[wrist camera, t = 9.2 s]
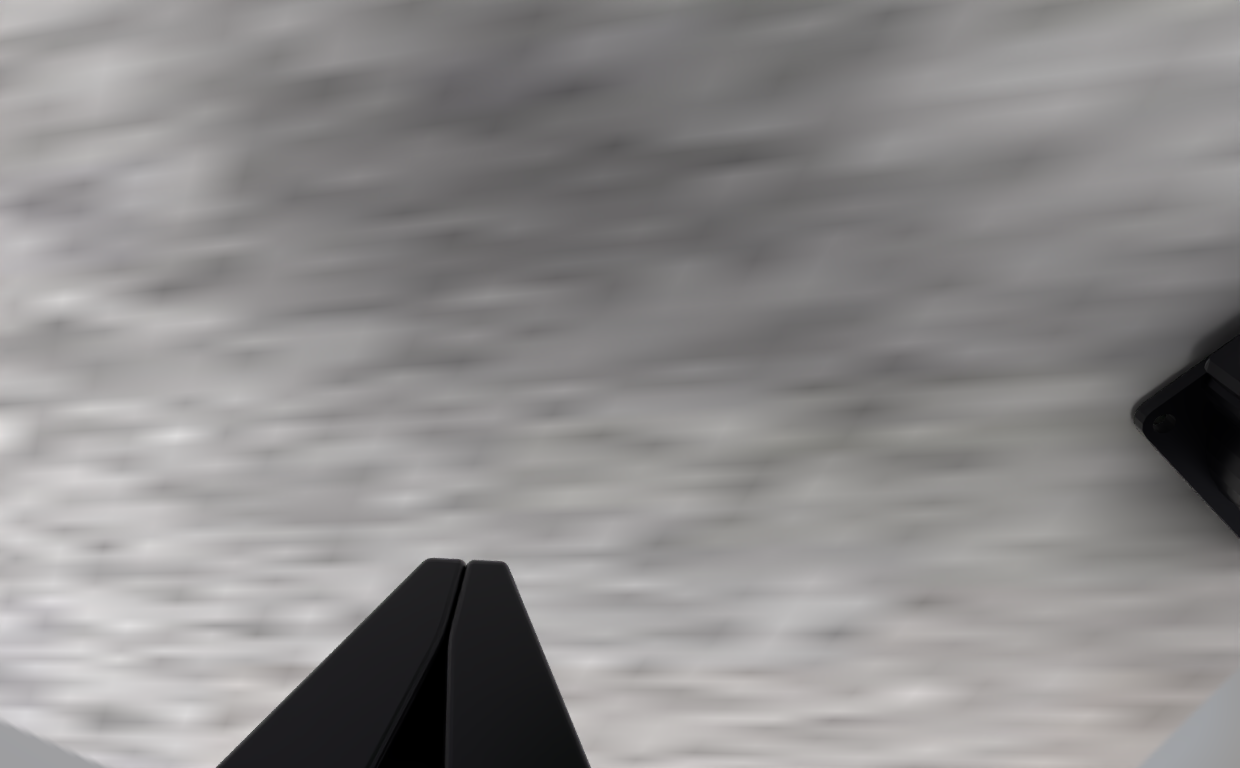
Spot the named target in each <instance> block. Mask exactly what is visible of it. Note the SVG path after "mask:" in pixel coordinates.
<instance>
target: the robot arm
mask: <svg viewBox="0 0 1240 768" xmlns="http://www.w3.org/2000/svg"><path fill="white" fill-rule="evenodd" d="M1164 414H1167V415H1166V418H1165V419H1164V420H1163V421H1162V422H1161V423H1159V424H1156V425H1153V424H1154V421H1155V420H1156V419H1157V418H1158V417H1159V416H1162V415H1164ZM1134 424H1135V426H1136V428H1137V429H1138V430H1139V431H1140V432H1141V433H1142V434H1143V436H1144V437H1145V438H1146V439H1147V440H1148V441H1149V442H1150V443H1151V444H1152V445H1153V446H1154V447H1155V448H1156V450H1157V451H1158V452H1159V453H1160V454H1161V455H1162V456H1163V457H1164V458H1165V459H1166V460H1167V461H1168V462H1169V463H1170V465H1171V466H1172V467H1173V468H1174V469H1175V470H1176V471H1177V472H1178V473H1179V474H1180V475H1181V476H1182V477H1183V478H1184V480H1185V481H1186V482H1187V483H1188V484H1189V485H1190V486H1191V487H1192V488H1193V489H1194V490H1195V491H1196V492H1197V493H1198V495H1199V496H1200V497H1201V498H1202V499H1203V500H1204V501H1205V502H1206V503H1207V504H1208V505H1209V506H1210V507H1211V509H1212V510H1213V511H1214V512H1215V513H1216V514H1217V515H1218V516H1219V517H1220V518H1221V519H1222V520H1223V521H1224V522H1225V524H1226V525H1227V526H1228V527H1229V528H1230V529H1231V530H1232V531H1233V532H1234V533H1235V534H1236V535H1237V536H1238V537H1239V539H1240V334H1239V335H1238V336H1237V337H1235V338H1234V339H1232V340H1231V341H1230V342H1228V343H1227V344H1225V345H1224V346H1223V347H1221V348H1220V349H1218V350H1217V351H1216V352H1214V353H1213V354H1211V355H1210V356H1209V357H1207V358H1206V359H1204V360H1203V361H1202V362H1200V363H1199V364H1197V365H1196V366H1195V367H1193V368H1192V369H1190V370H1189V371H1188V372H1186V373H1185V374H1183V375H1182V376H1181V377H1179V378H1178V379H1176V380H1175V381H1174V382H1172V383H1171V384H1169V385H1168V386H1167V387H1165V388H1164V389H1162V390H1161V391H1160V392H1158V393H1157V394H1155V395H1154V396H1153V397H1151V398H1150V399H1148V400H1147V401H1146V402H1144V403H1143V404H1142V405H1141V406H1140V407H1139V408H1138V409H1137V411H1136V413H1135V415H1134ZM216 768H591V767H590V764H589V762H588V759H587V757H586V754H585V752H584V750H583V747H582V745H581V742H580V740H579V737H578V735H577V733H576V730H575V728H574V725H573V723H572V720H571V718H570V715H569V713H568V711H567V708H566V706H565V703H564V701H563V698H562V696H561V694H560V691H559V689H558V686H557V684H556V681H555V679H554V676H553V674H552V672H551V669H550V667H549V664H548V662H547V659H546V657H545V655H544V652H543V650H542V647H541V645H540V642H539V640H538V637H537V635H536V633H535V630H534V628H533V625H532V623H531V620H530V618H529V616H528V613H527V611H526V608H525V606H524V603H523V601H522V598H521V596H520V594H519V591H518V589H517V586H516V584H515V581H514V579H513V577H512V574H511V572H510V569H509V567H508V566H507V564H506V563H504V562H502V561H485V560H472V561H470V562H469V563H468V564H467V565H466V564H465V562H464V561H463V560H460V559H445V558H429V559H427V560H425V561H423V562H422V563H421V564H420V565H419V566H418V567H417V568H416V569H415V570H414V571H413V572H412V573H411V574H410V575H409V576H408V577H407V578H406V579H405V580H404V581H403V582H402V583H401V584H400V585H399V586H398V587H397V588H396V589H395V590H394V591H393V592H392V593H391V594H390V595H389V596H388V597H387V598H386V599H385V600H384V601H383V602H382V603H381V604H380V605H379V606H378V607H377V608H376V609H375V610H374V611H373V612H372V613H371V614H370V615H369V616H368V617H367V618H366V619H365V620H364V621H363V622H362V623H361V624H360V625H359V626H358V627H357V628H356V629H355V630H354V631H353V632H352V633H351V634H350V635H349V636H348V637H347V638H346V639H345V640H344V641H343V642H342V643H341V644H340V645H339V646H338V647H337V648H336V649H335V650H334V651H333V652H332V653H331V654H330V655H329V656H328V657H327V658H326V659H325V660H324V661H323V662H322V663H321V664H320V665H319V666H318V667H317V668H316V669H315V670H314V671H313V672H312V673H311V674H310V675H309V676H308V677H307V678H306V679H305V680H304V681H303V682H302V683H301V684H299V685H298V686H297V687H296V688H295V689H294V690H293V691H292V692H291V693H290V694H289V695H288V696H287V697H286V698H285V699H284V700H283V701H282V702H281V703H280V704H279V705H278V706H277V707H276V708H275V709H274V710H273V711H272V712H271V713H270V714H269V715H268V716H267V717H266V718H265V719H264V720H263V721H262V722H261V723H260V724H259V725H258V726H257V727H256V728H255V729H254V730H253V731H252V732H251V733H250V734H249V735H248V736H247V737H246V738H245V739H244V740H243V741H242V742H241V743H240V744H239V745H238V746H237V747H236V748H235V749H234V750H233V751H232V752H231V753H230V754H229V755H228V756H227V757H226V758H225V759H224V760H223V761H222V762H221V763H220V764H219V765H218V766H217V767H216Z"/></svg>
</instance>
